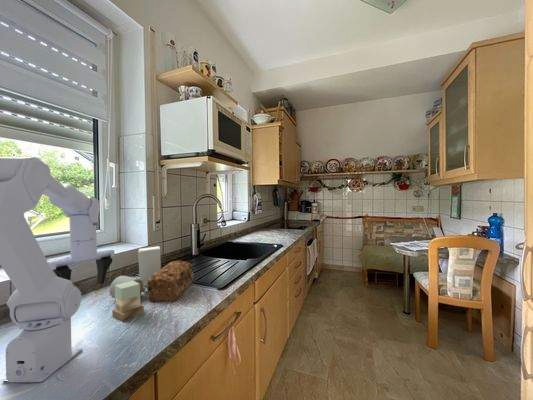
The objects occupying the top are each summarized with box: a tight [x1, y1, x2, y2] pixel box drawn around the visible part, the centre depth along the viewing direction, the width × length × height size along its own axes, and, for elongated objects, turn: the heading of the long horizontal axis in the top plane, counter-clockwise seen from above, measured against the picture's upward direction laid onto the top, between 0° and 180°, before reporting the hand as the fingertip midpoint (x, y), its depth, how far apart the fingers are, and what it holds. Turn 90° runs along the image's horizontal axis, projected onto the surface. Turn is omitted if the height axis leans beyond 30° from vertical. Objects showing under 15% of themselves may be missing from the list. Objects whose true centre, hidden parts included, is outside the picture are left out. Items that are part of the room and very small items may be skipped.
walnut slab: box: [111, 304, 145, 323], centre depth 68 cm, size 6×6×2 cm
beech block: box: [115, 294, 141, 313], centre depth 69 cm, size 5×5×4 cm
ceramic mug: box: [109, 275, 147, 299], centre depth 81 cm, size 11×8×8 cm
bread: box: [146, 259, 195, 303], centre depth 85 cm, size 19×11×10 cm, turn 179°
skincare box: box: [137, 245, 162, 287], centre depth 94 cm, size 8×6×15 cm
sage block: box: [115, 281, 141, 301], centre depth 69 cm, size 5×5×4 cm
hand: (85, 288), depth 63 cm, fingers open, 7 cm apart
